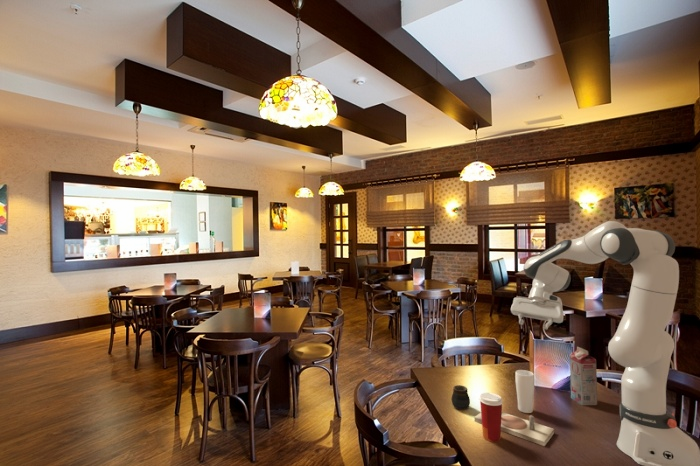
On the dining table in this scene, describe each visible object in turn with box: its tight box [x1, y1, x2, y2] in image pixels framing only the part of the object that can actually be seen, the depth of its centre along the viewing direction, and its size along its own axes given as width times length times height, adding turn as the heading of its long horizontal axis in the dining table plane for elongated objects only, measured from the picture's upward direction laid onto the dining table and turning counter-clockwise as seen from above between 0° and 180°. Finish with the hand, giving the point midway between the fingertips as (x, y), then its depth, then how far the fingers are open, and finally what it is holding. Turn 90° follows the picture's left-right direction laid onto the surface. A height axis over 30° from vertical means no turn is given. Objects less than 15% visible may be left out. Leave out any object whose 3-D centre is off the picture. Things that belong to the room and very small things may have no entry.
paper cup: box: [478, 392, 504, 443], centre depth 123 cm, size 8×8×14 cm
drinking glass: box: [514, 369, 535, 414], centre depth 142 cm, size 7×7×15 cm
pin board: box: [474, 411, 555, 447], centre depth 130 cm, size 24×11×6 cm, turn 46°
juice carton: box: [569, 346, 598, 406], centre depth 150 cm, size 7×7×22 cm
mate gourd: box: [451, 384, 471, 411], centre depth 145 cm, size 7×8×10 cm
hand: (532, 326), depth 150 cm, fingers open, 8 cm apart
